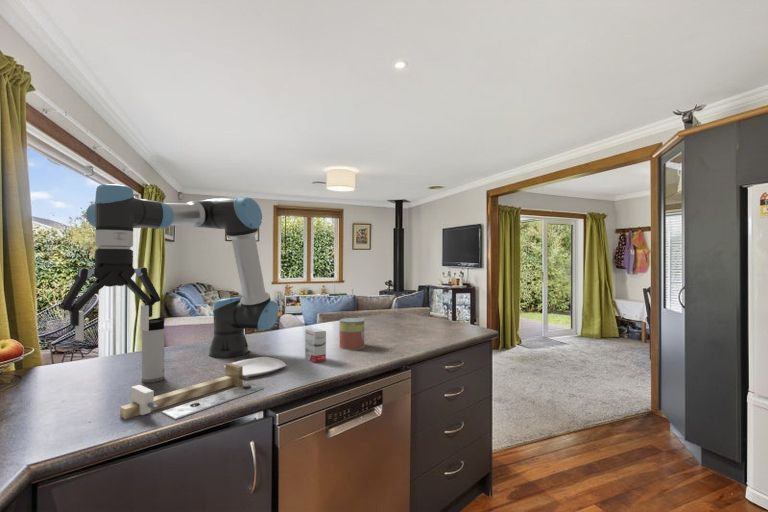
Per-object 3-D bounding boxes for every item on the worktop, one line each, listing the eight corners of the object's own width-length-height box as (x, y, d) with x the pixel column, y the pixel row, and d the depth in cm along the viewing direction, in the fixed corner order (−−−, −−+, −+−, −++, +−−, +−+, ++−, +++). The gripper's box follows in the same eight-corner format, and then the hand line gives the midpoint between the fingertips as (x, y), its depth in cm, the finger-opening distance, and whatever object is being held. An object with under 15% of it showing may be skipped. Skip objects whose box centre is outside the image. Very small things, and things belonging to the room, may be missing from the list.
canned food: (363, 349, 158) (363, 322, 158) (337, 349, 159) (337, 322, 159) (365, 343, 170) (365, 317, 170) (341, 343, 170) (341, 317, 170)
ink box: (326, 360, 142) (326, 330, 142) (315, 363, 138) (315, 332, 138) (315, 356, 148) (315, 327, 148) (304, 358, 145) (304, 328, 145)
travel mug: (169, 377, 122) (169, 317, 122) (151, 383, 116) (151, 320, 116) (156, 375, 124) (156, 316, 125) (137, 381, 118) (137, 319, 118)
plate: (293, 370, 131) (293, 364, 131) (241, 383, 117) (241, 377, 117) (266, 359, 145) (266, 354, 145) (216, 371, 130) (216, 365, 130)
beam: (136, 426, 87) (136, 401, 87) (118, 415, 93) (118, 391, 93) (252, 386, 113) (252, 367, 113) (233, 380, 119) (233, 362, 119)
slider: (151, 420, 89) (151, 396, 89) (130, 409, 96) (130, 386, 96) (160, 417, 91) (160, 394, 91) (139, 406, 98) (139, 384, 98)
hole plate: (162, 412, 94) (162, 411, 94) (249, 384, 116) (249, 382, 116) (175, 419, 90) (175, 417, 90) (263, 388, 112) (263, 387, 112)
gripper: (52, 246, 78) (52, 346, 77) (174, 249, 98) (174, 328, 98) (42, 247, 82) (41, 342, 82) (161, 249, 102) (161, 325, 102)
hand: (114, 334), depth 90 cm, fingers open, 13 cm apart
